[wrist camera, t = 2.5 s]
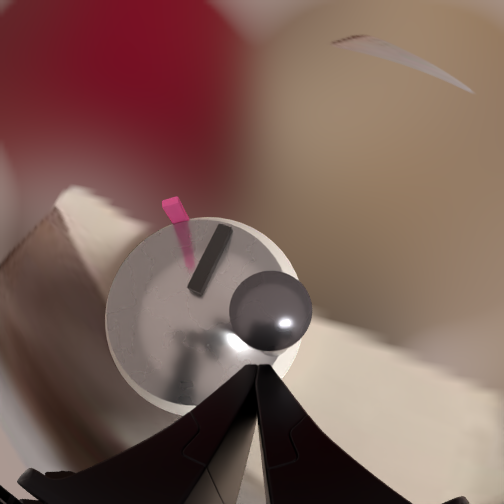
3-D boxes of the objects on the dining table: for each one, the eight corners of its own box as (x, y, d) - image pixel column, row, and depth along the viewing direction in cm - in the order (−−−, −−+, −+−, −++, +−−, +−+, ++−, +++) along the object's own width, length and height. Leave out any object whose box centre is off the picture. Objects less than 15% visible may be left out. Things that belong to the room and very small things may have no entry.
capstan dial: (253, 438, 15) (229, 500, 6) (89, 349, 18) (-6, 319, 9) (323, 260, 19) (355, 170, 11) (161, 208, 22) (111, 123, 14)
